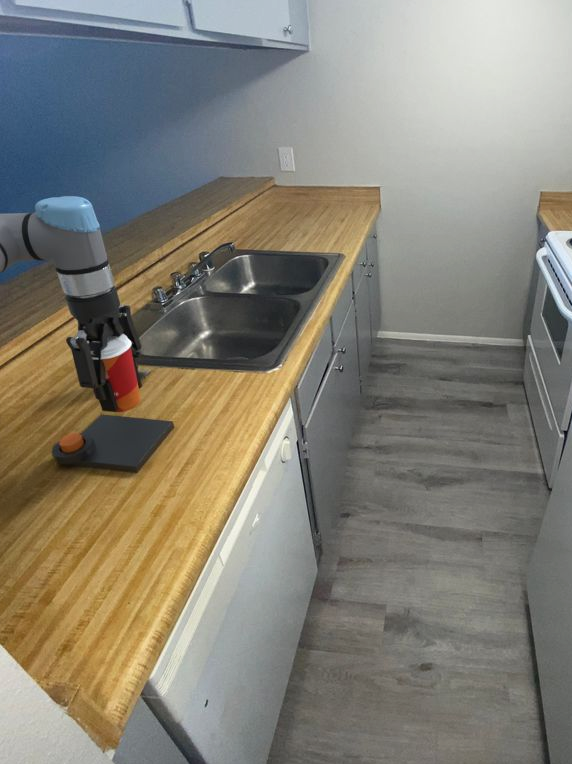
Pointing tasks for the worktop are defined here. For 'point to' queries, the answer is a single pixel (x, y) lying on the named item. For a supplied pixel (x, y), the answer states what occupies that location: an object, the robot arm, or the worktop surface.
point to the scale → (116, 443)
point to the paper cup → (121, 372)
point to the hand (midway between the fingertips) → (123, 397)
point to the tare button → (71, 442)
